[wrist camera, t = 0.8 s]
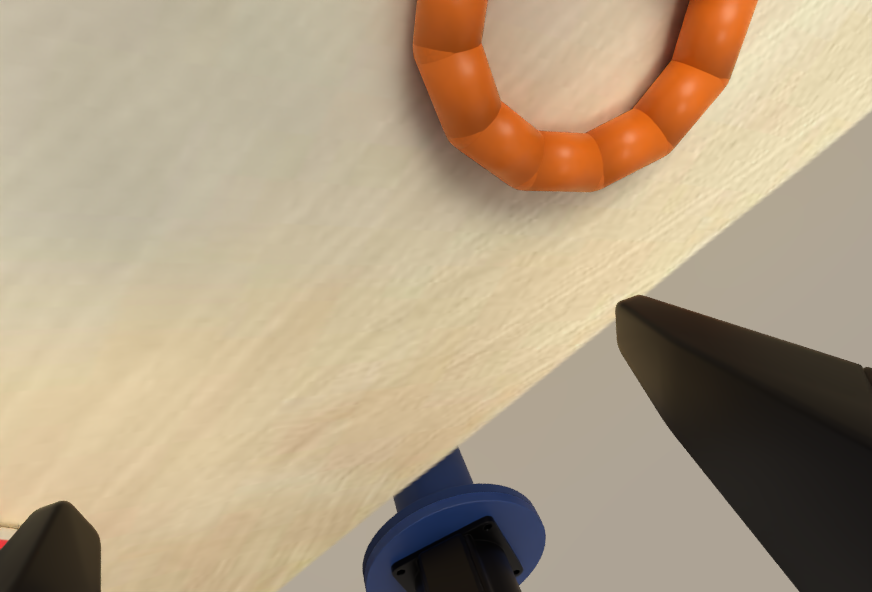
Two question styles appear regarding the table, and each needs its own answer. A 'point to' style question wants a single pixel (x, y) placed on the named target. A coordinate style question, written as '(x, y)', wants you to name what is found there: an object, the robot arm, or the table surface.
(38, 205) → the table surface
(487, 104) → the ring
